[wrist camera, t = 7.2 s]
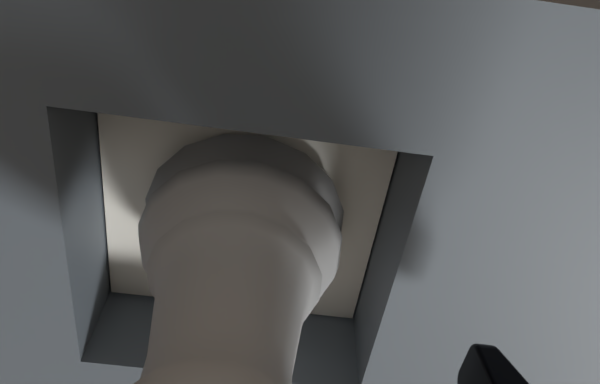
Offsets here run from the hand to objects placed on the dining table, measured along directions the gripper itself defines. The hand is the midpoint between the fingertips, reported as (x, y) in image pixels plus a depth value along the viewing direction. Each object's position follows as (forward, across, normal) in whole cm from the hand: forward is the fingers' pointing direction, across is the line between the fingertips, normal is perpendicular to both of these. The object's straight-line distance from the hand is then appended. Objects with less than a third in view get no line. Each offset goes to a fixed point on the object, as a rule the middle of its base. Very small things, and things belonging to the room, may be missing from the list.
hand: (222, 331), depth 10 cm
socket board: (+4, 0, 0) cm, 4 cm away
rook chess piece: (+4, 0, 0) cm, 4 cm away
